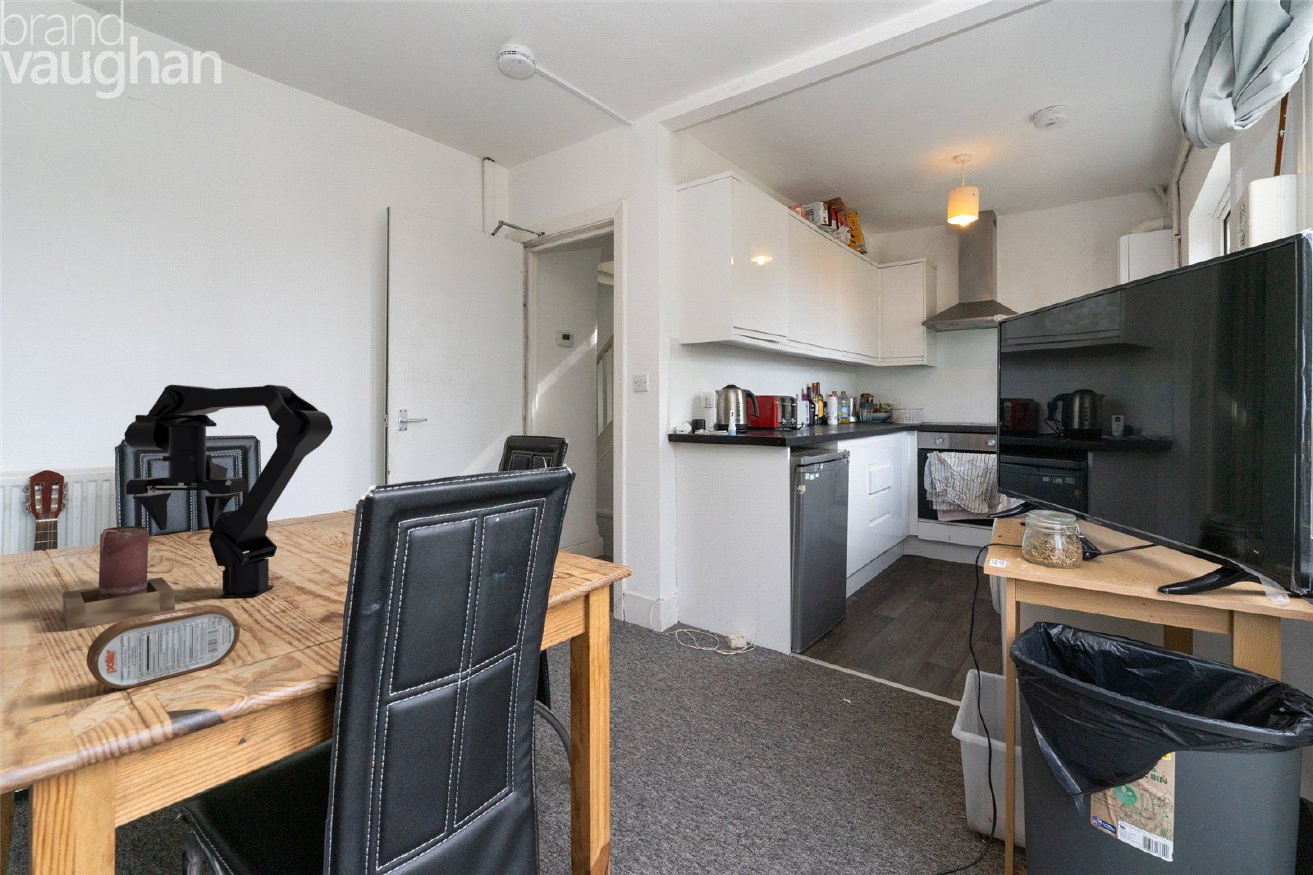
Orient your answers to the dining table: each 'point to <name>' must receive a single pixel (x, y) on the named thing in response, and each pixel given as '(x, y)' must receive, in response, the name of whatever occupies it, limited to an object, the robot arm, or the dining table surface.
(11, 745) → the dining table surface
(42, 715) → the dining table surface
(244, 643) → the dining table surface
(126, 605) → the collar
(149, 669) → the tin
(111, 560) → the can
